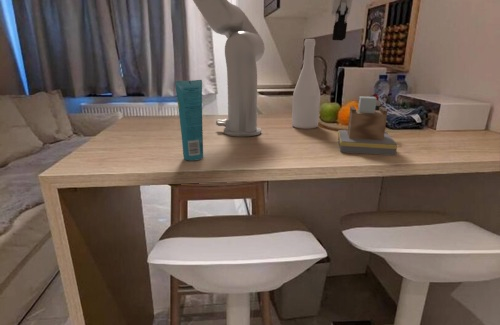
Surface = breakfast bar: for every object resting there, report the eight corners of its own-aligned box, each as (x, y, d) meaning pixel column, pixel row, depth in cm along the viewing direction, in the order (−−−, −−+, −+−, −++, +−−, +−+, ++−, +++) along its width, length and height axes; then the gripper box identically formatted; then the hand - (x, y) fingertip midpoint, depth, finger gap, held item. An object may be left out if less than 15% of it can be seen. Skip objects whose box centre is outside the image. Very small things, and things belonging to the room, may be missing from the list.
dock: (339, 152, 88) (340, 141, 87) (337, 139, 101) (338, 129, 100) (395, 155, 85) (397, 144, 84) (385, 142, 99) (386, 132, 98)
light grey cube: (359, 112, 89) (361, 98, 88) (357, 110, 93) (359, 96, 91) (374, 113, 88) (376, 98, 87) (372, 111, 92) (374, 96, 91)
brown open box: (349, 138, 90) (352, 109, 88) (347, 133, 96) (350, 106, 94) (383, 140, 89) (387, 110, 86) (379, 134, 95) (383, 107, 92)
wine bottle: (297, 129, 114) (302, 38, 104) (288, 124, 122) (291, 39, 113) (322, 128, 116) (329, 38, 106) (311, 123, 125) (317, 39, 115)
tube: (198, 153, 86) (194, 78, 80) (210, 156, 83) (208, 79, 77) (175, 159, 81) (169, 80, 75) (187, 163, 78) (183, 81, 72)
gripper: (331, -23, 95) (324, 40, 101) (332, -38, 79) (324, 37, 85) (358, -23, 94) (349, 41, 99) (364, -38, 78) (354, 38, 83)
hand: (338, 39), depth 92 cm, fingers open, 9 cm apart
